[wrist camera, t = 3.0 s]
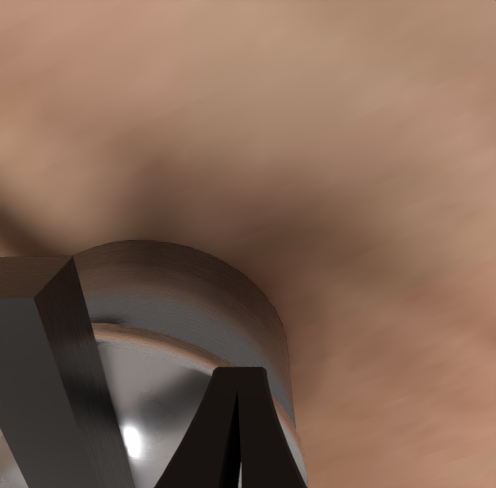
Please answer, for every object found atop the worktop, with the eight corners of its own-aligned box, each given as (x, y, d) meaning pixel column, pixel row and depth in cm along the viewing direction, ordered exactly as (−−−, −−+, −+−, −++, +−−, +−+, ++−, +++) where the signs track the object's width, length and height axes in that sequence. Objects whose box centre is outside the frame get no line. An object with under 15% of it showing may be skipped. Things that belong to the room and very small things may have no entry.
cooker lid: (299, 566, 17) (306, 651, 15) (0, 562, 18) (-43, 644, 15) (319, 234, 10) (340, 294, 7) (-201, 243, 10) (-348, 301, 8)
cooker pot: (340, 367, 20) (370, 479, 15) (165, 470, 24) (139, 586, 19) (48, 82, 14) (-82, 95, 9) (-115, 286, 18) (-269, 378, 13)
